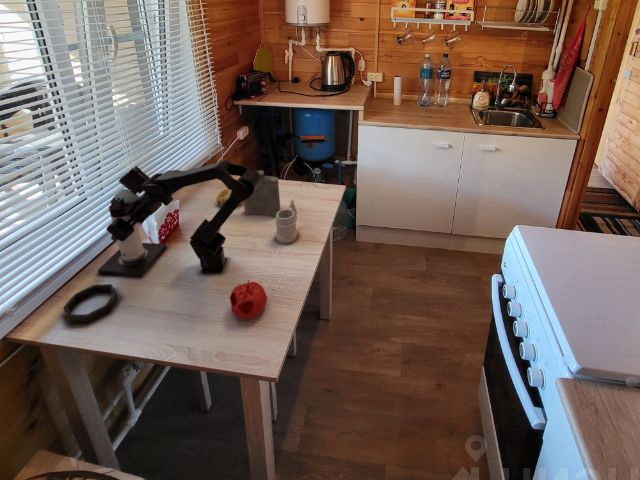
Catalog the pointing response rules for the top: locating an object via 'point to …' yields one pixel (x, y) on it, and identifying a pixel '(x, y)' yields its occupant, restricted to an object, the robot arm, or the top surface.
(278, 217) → the mug
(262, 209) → the flask
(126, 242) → the travel mug
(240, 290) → the pomegranate
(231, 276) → the top surface
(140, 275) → the hob plate
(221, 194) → the bread roll
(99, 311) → the holder ring
